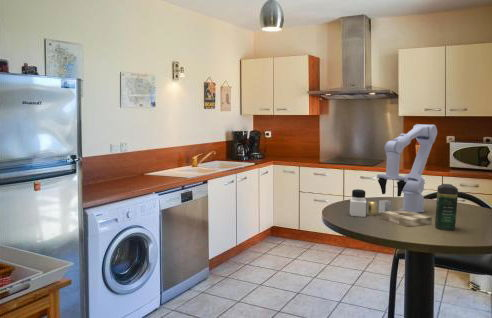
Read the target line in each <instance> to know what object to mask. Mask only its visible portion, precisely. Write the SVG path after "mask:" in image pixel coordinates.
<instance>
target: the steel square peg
mask: <svg viewBox="0 0 492 318" xmlns="http://www.w3.org/2000/svg"><path fill="white" fill-rule="evenodd" d="M378 201H379V202H378V213H379V214H381V212H387V211H392V201H391V200H387V199H382V200H378Z"/></svg>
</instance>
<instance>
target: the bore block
mask: <svg viewBox="0 0 492 318" xmlns="http://www.w3.org/2000/svg"><path fill="white" fill-rule="evenodd" d="M380 219H381V220H384V221H388V222H392V223H395V224H398V225H401V226H403V227H407V228H409V227H411V228H412V227H417V226H425V225H426V226H427V225H431V224H432V222H433V221H432V219H433V217H432V216H429V215H426V214H422V213H414V212H411V211H407V210H399V209H397V210H391V211H387V212H381V213H380Z"/></svg>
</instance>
